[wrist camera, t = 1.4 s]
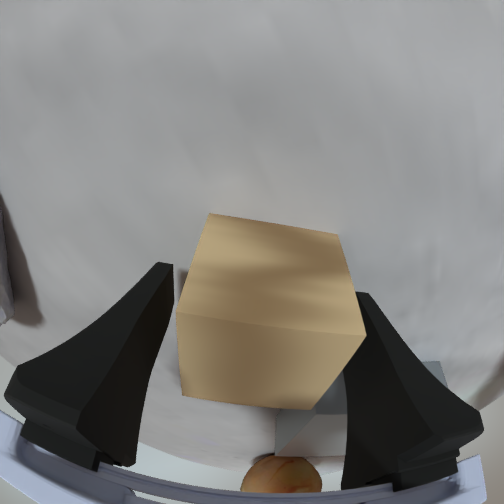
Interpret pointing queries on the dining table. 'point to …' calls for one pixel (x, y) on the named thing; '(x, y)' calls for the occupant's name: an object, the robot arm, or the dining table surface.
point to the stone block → (4, 280)
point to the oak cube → (265, 315)
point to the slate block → (323, 422)
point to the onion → (282, 476)
